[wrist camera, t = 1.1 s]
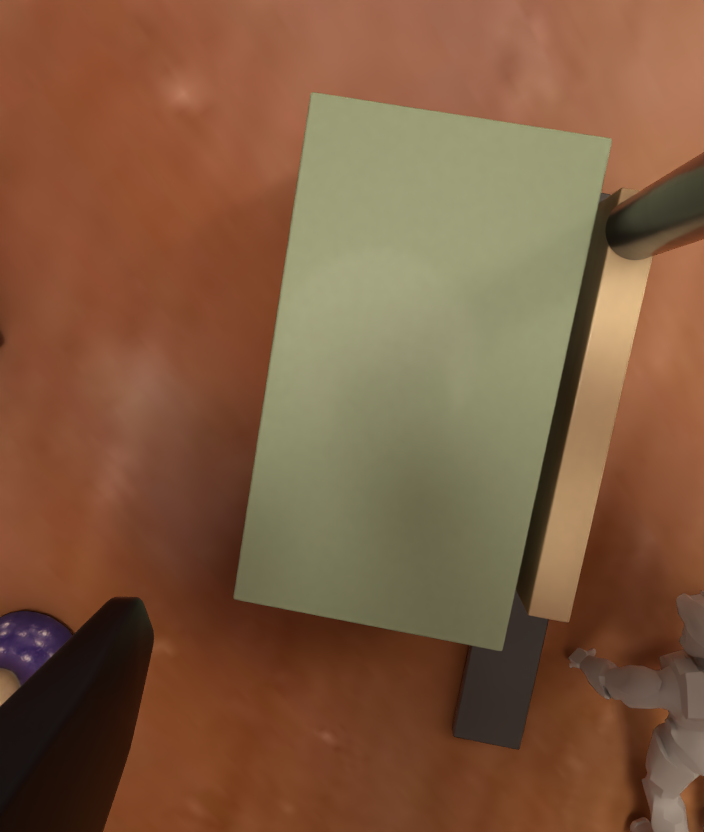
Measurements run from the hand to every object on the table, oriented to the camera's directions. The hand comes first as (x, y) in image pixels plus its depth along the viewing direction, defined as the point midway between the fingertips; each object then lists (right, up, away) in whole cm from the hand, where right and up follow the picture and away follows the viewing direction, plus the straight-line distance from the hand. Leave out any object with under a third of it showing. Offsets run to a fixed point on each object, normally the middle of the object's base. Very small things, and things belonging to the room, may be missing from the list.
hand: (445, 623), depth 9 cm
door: (+6, +4, +13) cm, 15 cm away
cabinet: (+1, +1, +14) cm, 14 cm away
